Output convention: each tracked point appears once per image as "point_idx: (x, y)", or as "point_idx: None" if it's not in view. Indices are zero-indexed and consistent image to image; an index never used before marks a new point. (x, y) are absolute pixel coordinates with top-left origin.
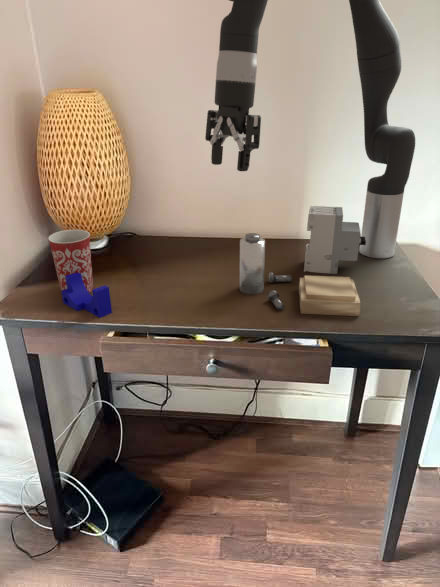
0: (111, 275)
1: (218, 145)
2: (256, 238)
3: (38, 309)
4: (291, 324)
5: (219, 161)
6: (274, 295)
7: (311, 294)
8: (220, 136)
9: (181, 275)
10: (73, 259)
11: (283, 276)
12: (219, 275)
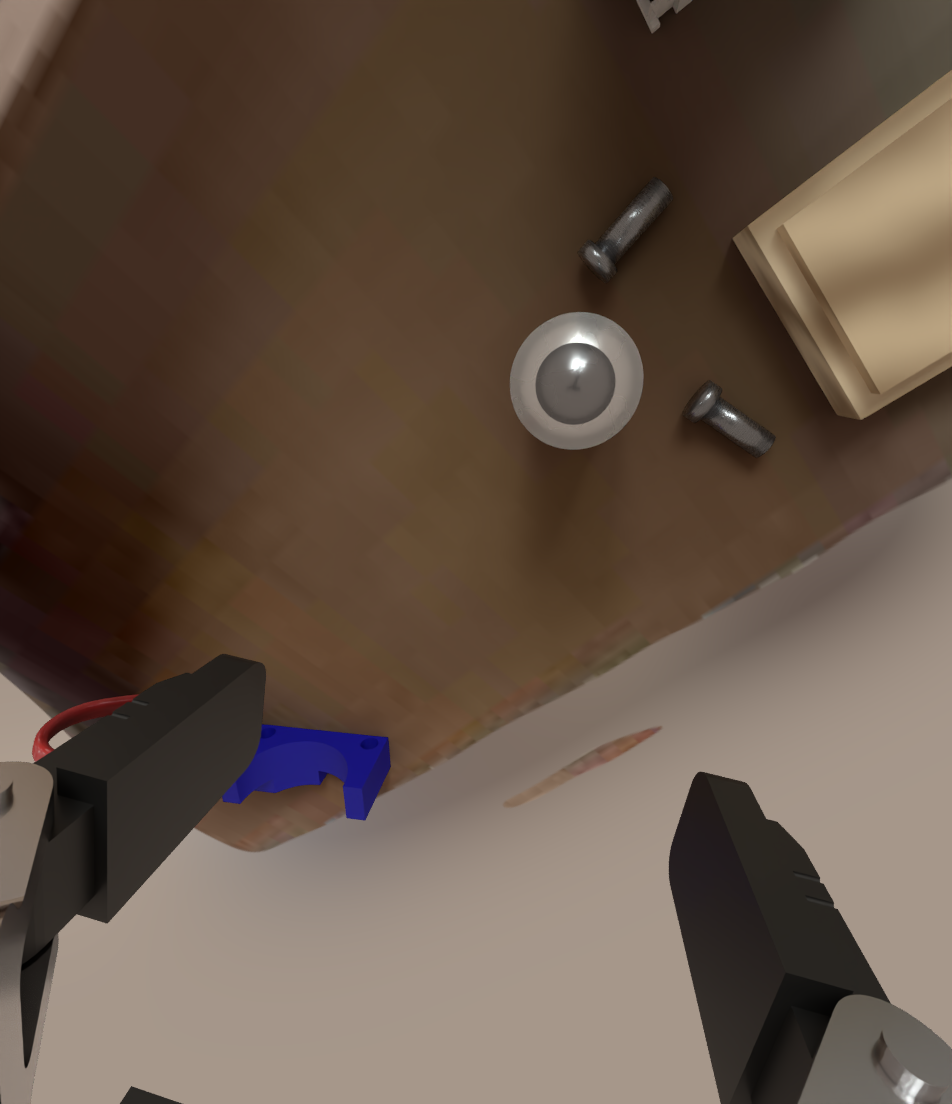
0: (185, 598)
1: (85, 854)
2: (612, 396)
3: (262, 809)
4: (843, 499)
5: (246, 702)
6: (713, 408)
7: (900, 380)
8: (22, 1089)
9: (316, 459)
10: None
11: (641, 220)
12: (405, 364)
